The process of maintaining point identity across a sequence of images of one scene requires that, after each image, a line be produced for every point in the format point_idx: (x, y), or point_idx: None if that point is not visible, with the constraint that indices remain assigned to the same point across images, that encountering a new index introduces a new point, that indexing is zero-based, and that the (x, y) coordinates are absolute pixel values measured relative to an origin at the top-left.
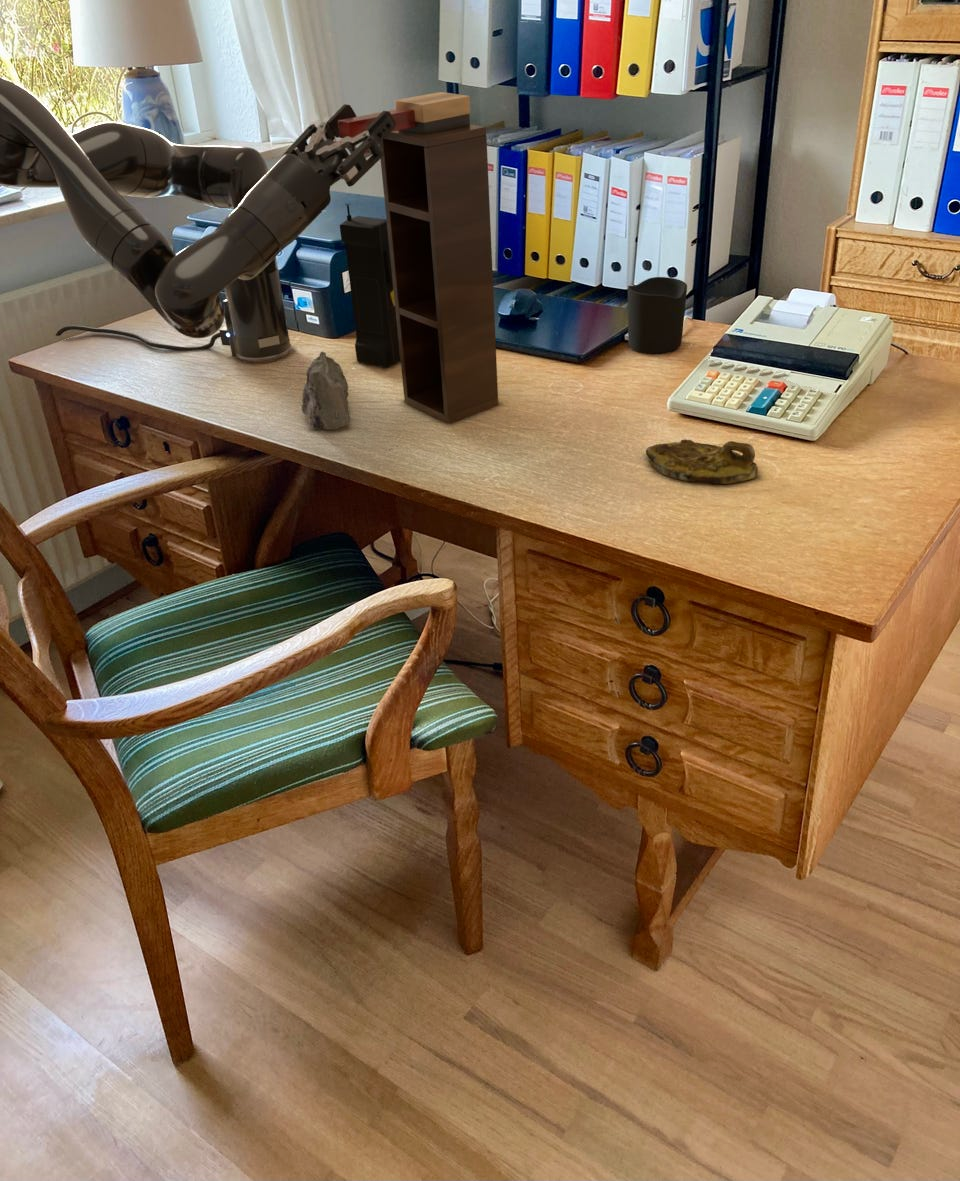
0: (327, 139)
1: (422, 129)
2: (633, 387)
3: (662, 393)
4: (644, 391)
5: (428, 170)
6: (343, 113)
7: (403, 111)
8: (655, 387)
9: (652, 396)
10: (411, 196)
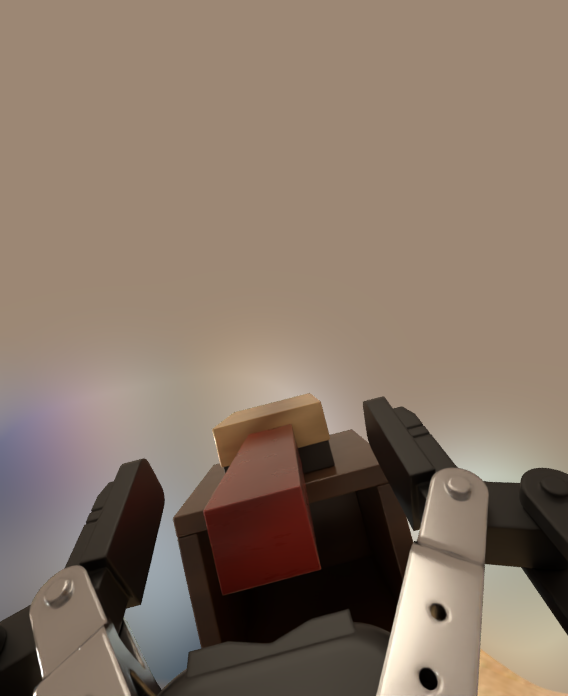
0: (192, 655)
1: (324, 457)
2: (480, 690)
3: (509, 671)
4: (498, 685)
5: (404, 539)
6: (138, 493)
7: (287, 428)
8: (488, 669)
9: (517, 685)
10: (246, 641)
